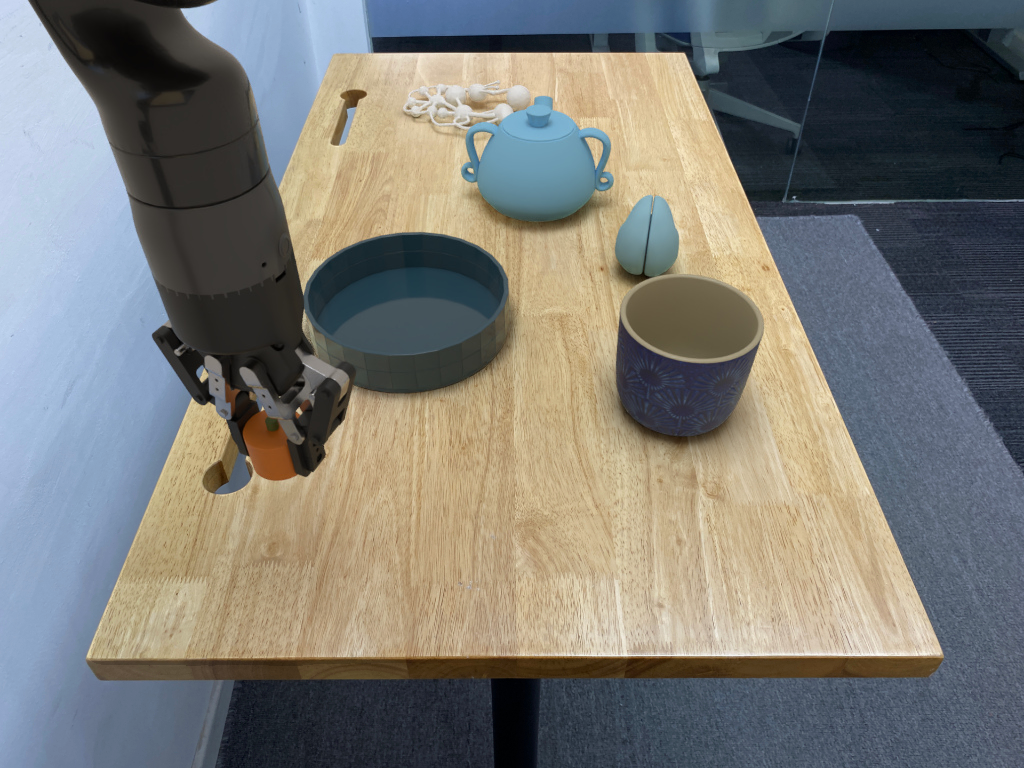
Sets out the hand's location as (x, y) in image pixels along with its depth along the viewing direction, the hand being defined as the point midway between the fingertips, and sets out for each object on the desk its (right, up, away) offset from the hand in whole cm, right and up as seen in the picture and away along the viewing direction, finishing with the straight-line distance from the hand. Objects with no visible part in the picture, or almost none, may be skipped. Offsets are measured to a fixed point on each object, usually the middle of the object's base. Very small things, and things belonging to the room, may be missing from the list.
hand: (282, 456), depth 54 cm
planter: (+32, +3, +21) cm, 38 cm away
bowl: (+5, +11, +29) cm, 32 cm away
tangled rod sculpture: (+9, +46, +66) cm, 81 cm away
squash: (0, 0, 0) cm, 0 cm away
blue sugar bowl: (+20, +31, +50) cm, 61 cm away
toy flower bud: (+32, +20, +38) cm, 54 cm away
